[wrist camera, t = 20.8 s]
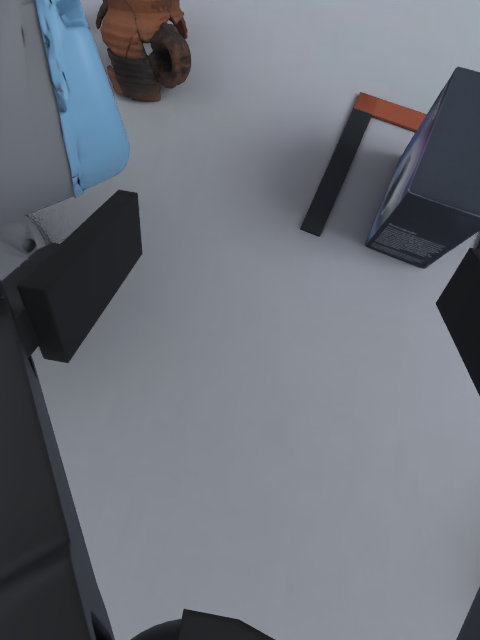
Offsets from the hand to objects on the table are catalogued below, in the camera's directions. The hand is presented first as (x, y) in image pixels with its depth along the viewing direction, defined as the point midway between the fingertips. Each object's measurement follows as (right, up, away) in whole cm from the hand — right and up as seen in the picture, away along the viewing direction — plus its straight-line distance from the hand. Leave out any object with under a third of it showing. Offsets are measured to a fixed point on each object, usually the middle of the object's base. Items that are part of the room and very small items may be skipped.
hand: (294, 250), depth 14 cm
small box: (+14, +8, +20) cm, 26 cm away
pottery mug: (-11, +24, +24) cm, 36 cm away
